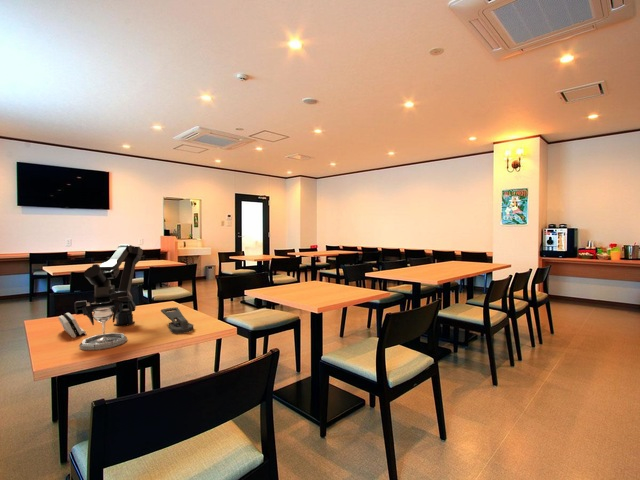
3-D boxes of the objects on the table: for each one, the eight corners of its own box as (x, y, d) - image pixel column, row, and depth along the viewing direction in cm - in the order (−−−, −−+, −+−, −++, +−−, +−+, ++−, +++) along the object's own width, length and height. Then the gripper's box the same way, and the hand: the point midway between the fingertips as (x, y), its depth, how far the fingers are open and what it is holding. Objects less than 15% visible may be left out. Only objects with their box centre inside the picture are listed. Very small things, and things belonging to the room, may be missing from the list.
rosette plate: (68, 348, 130) (68, 343, 130) (104, 335, 146) (104, 331, 146) (103, 352, 126) (103, 346, 126) (136, 338, 142) (136, 333, 142)
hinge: (87, 334, 148) (76, 314, 145) (74, 341, 145) (64, 320, 142) (77, 327, 159) (67, 308, 156) (66, 333, 156) (55, 314, 153)
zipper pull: (178, 306, 171) (195, 316, 151) (178, 319, 171) (196, 331, 151) (159, 309, 165) (174, 319, 146) (159, 323, 165) (174, 335, 146)
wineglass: (96, 337, 138) (95, 307, 138) (115, 335, 141) (114, 306, 140) (91, 342, 132) (90, 311, 131) (112, 340, 134) (110, 310, 134)
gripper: (73, 281, 134) (71, 315, 125) (128, 276, 143) (130, 308, 135) (76, 297, 141) (74, 331, 132) (128, 292, 151) (130, 323, 142)
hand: (103, 323), depth 135 cm, fingers closed on wineglass, 6 cm apart
